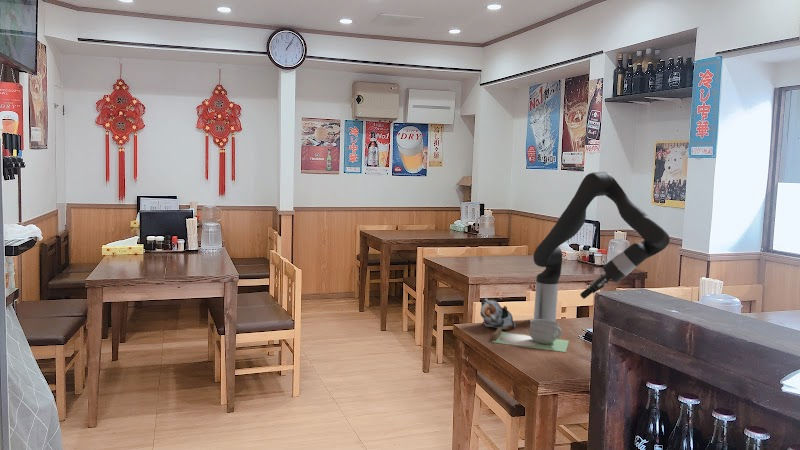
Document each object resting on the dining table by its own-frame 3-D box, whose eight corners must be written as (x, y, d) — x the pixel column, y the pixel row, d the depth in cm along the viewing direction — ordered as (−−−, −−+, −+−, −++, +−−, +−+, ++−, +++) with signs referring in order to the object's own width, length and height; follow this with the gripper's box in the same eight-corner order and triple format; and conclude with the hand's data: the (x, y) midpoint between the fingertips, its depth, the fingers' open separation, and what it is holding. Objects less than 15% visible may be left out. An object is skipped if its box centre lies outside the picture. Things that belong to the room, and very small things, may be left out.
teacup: (523, 338, 239) (524, 318, 238) (547, 337, 243) (548, 317, 242) (543, 349, 226) (545, 328, 225) (568, 347, 230) (570, 326, 229)
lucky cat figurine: (519, 331, 250) (510, 303, 245) (491, 341, 251) (481, 314, 245) (508, 312, 264) (500, 285, 258) (482, 322, 264) (473, 295, 259)
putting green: (499, 332, 248) (499, 325, 248) (568, 341, 240) (569, 334, 239) (491, 342, 233) (492, 335, 233) (565, 352, 225) (566, 345, 224)
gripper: (612, 256, 231) (575, 285, 236) (612, 261, 218) (573, 292, 223) (626, 272, 229) (589, 301, 235) (627, 277, 217) (588, 308, 222)
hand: (581, 296), depth 229 cm, fingers closed
